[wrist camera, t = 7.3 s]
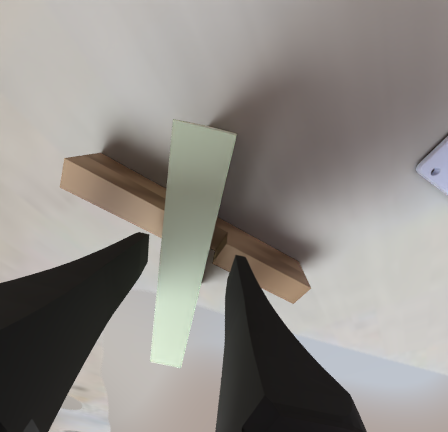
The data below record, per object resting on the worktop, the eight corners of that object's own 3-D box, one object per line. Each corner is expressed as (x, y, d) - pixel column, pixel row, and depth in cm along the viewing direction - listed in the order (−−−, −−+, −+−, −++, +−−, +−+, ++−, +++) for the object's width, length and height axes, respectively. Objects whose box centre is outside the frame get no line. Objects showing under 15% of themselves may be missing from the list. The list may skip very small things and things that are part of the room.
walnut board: (298, 261, 16) (311, 288, 13) (284, 275, 17) (293, 303, 14) (100, 152, 13) (64, 158, 10) (94, 176, 14) (59, 187, 11)
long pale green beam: (207, 126, 12) (173, 119, 5) (236, 133, 12) (236, 135, 6) (181, 279, 18) (150, 361, 11) (200, 284, 18) (180, 368, 12)
